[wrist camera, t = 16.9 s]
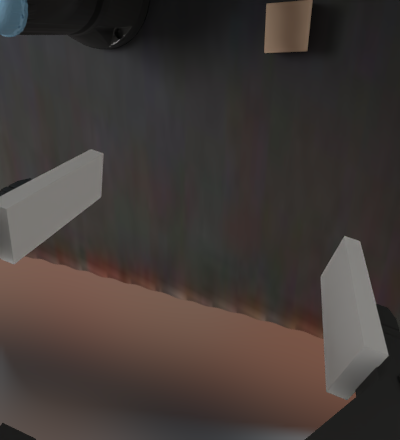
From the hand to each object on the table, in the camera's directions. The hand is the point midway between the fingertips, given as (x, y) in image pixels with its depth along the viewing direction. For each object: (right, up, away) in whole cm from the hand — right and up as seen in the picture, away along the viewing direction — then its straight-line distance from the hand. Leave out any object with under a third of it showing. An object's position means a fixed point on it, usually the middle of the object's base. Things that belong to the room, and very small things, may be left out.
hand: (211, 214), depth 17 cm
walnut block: (+11, +24, +24) cm, 36 cm away
